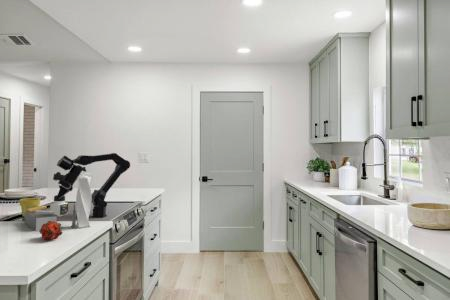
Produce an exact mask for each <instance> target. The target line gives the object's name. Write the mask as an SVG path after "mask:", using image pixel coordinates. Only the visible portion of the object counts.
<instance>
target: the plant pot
mask: <svg viewBox="0 0 450 300" xmlns="http://www.w3.org/2000/svg"><path fill="white" fill-rule="evenodd" d="M40 204H41V199H40V198H37V197H36V198H35V197H34V198H33V197H31V198H21V199H19V206H20V208H21V212H22V213H21V215H22V217H24V218H25V211H28V209H30V208H35V207H39V206H41V205H40Z"/></svg>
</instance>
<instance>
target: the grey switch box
mask: <svg viewBox="0 0 450 300" xmlns="http://www.w3.org/2000/svg"><path fill="white" fill-rule="evenodd" d="M41 210H42V211H49V210H48V209H47V208H45V209H41ZM48 221H51V222H52V221H56V222H57V223H58V216H57V215H56V214H39V213H35V211H33V212H29V211H25V217H24V224H25V225H26V226H28V227H29V228H30V229H32V230H33V231H34V232H40V230H41V228H42V225H43V224H46V223H47V222H48Z"/></svg>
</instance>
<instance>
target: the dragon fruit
mask: <svg viewBox="0 0 450 300" xmlns="http://www.w3.org/2000/svg"><path fill="white" fill-rule="evenodd" d="M39 233H40V234H41V238H42V239H44V240H45V241H46V242H48V241H51V240H53V239H55V240H56V239H58V238H59V237H60V236H61V235H63V230H62V224H61V223H60V222H58V221H57V222H56V221H52V222H51V221H48V222H47V223H46V224H43V225H42V228H41V230H40V231H39Z"/></svg>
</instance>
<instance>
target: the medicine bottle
mask: <svg viewBox="0 0 450 300" xmlns="http://www.w3.org/2000/svg"><path fill="white" fill-rule="evenodd" d="M57 195H58V194H57ZM57 195H54V196H53V203H50V204H49V207H50V208H49V211H53V212H55V213H54V214H56V215H57V217H63V216H66V215H69V202H66V196H65V195H64V196H62V197H61V198H60V199H56V198H57Z"/></svg>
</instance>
